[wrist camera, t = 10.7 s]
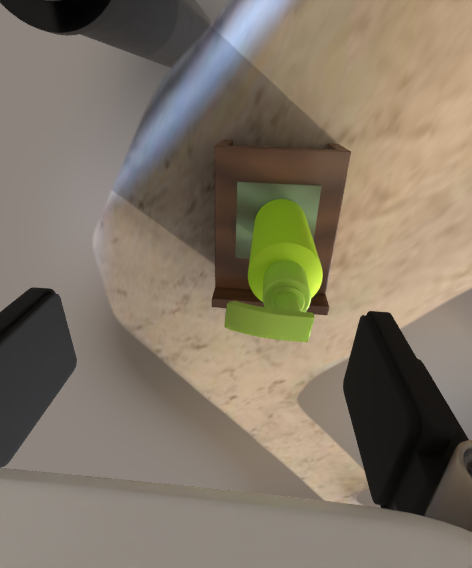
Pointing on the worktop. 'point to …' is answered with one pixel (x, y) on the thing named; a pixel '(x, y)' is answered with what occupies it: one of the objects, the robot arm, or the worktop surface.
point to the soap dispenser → (279, 276)
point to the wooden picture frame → (262, 189)
